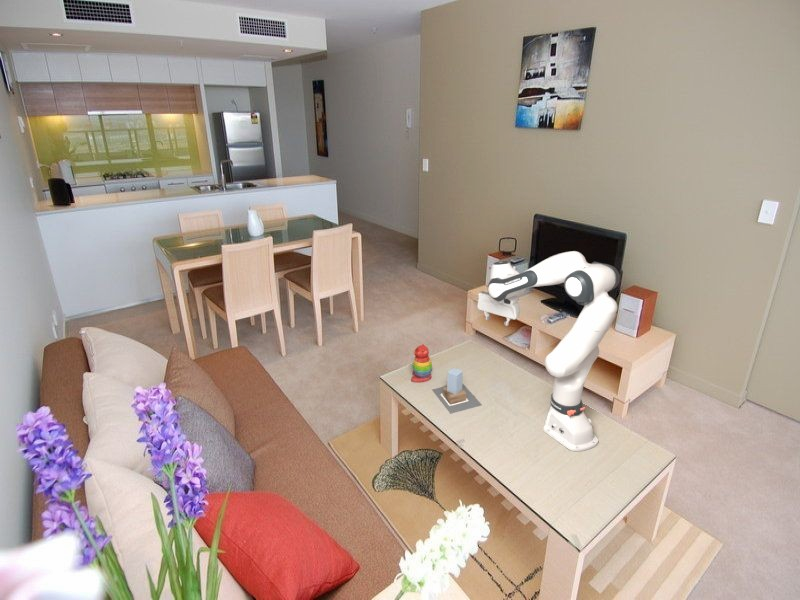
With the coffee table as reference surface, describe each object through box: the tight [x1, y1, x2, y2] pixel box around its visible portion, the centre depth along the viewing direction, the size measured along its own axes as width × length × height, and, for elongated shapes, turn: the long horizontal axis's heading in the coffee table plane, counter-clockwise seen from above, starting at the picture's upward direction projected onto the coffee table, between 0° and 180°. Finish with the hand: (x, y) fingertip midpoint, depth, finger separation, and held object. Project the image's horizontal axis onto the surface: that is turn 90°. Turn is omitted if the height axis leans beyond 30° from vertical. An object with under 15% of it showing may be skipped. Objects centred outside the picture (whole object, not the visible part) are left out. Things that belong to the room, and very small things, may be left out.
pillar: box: [446, 367, 464, 395], centre depth 211 cm, size 5×5×10 cm
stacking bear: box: [410, 343, 433, 384], centre depth 228 cm, size 11×10×18 cm
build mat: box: [431, 382, 483, 415], centre depth 215 cm, size 20×16×1 cm
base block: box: [443, 386, 466, 404], centre depth 213 cm, size 8×8×4 cm
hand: (497, 322), depth 216 cm, fingers open, 8 cm apart
